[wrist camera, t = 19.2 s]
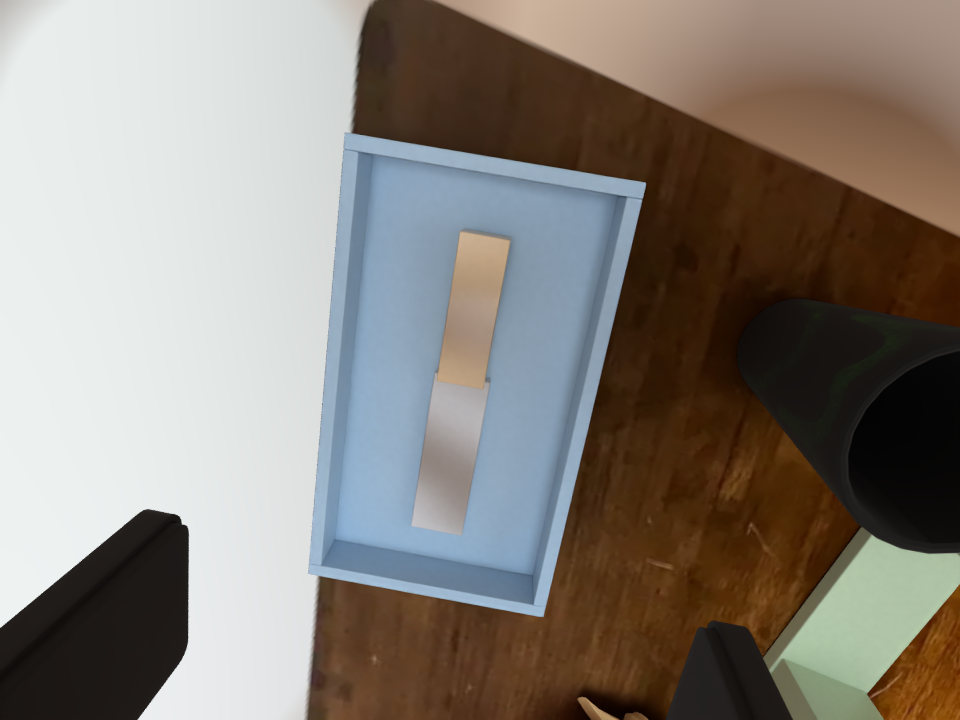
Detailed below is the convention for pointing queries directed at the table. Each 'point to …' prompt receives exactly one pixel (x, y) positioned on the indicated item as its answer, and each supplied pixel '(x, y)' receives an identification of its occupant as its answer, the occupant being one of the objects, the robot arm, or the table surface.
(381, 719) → the table surface
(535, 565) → the tray
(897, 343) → the cup
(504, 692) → the table surface
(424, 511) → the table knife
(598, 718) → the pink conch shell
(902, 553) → the rack
